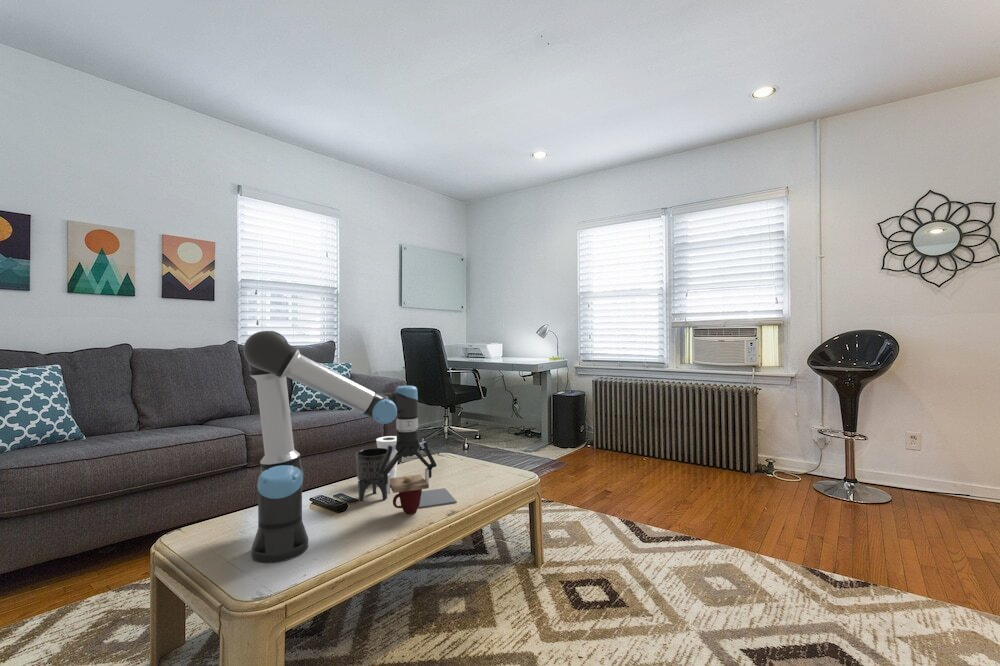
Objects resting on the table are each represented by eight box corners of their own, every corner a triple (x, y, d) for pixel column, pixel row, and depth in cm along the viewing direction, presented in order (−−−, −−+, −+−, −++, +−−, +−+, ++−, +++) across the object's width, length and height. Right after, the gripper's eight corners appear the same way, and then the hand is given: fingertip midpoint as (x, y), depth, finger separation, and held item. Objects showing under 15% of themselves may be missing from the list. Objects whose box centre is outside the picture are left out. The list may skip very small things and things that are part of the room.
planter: (365, 506, 170) (364, 458, 170) (350, 497, 180) (350, 451, 180) (396, 498, 178) (396, 452, 178) (381, 489, 188) (380, 446, 188)
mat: (419, 508, 168) (419, 506, 168) (410, 494, 183) (410, 492, 183) (456, 502, 173) (456, 501, 173) (444, 489, 188) (444, 488, 188)
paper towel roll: (371, 481, 199) (370, 439, 199) (390, 475, 207) (389, 435, 207) (387, 486, 193) (387, 442, 193) (406, 479, 201) (406, 438, 201)
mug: (400, 520, 157) (400, 491, 157) (388, 514, 163) (388, 485, 163) (426, 512, 164) (426, 484, 164) (413, 506, 170) (413, 479, 170)
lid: (393, 493, 155) (393, 484, 155) (387, 482, 166) (387, 474, 166) (428, 488, 160) (428, 480, 160) (420, 478, 171) (420, 470, 171)
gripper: (372, 435, 155) (373, 498, 155) (444, 428, 165) (445, 488, 165) (369, 431, 162) (370, 491, 162) (438, 424, 171) (439, 481, 172)
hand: (408, 490), depth 163 cm, fingers open, 13 cm apart
